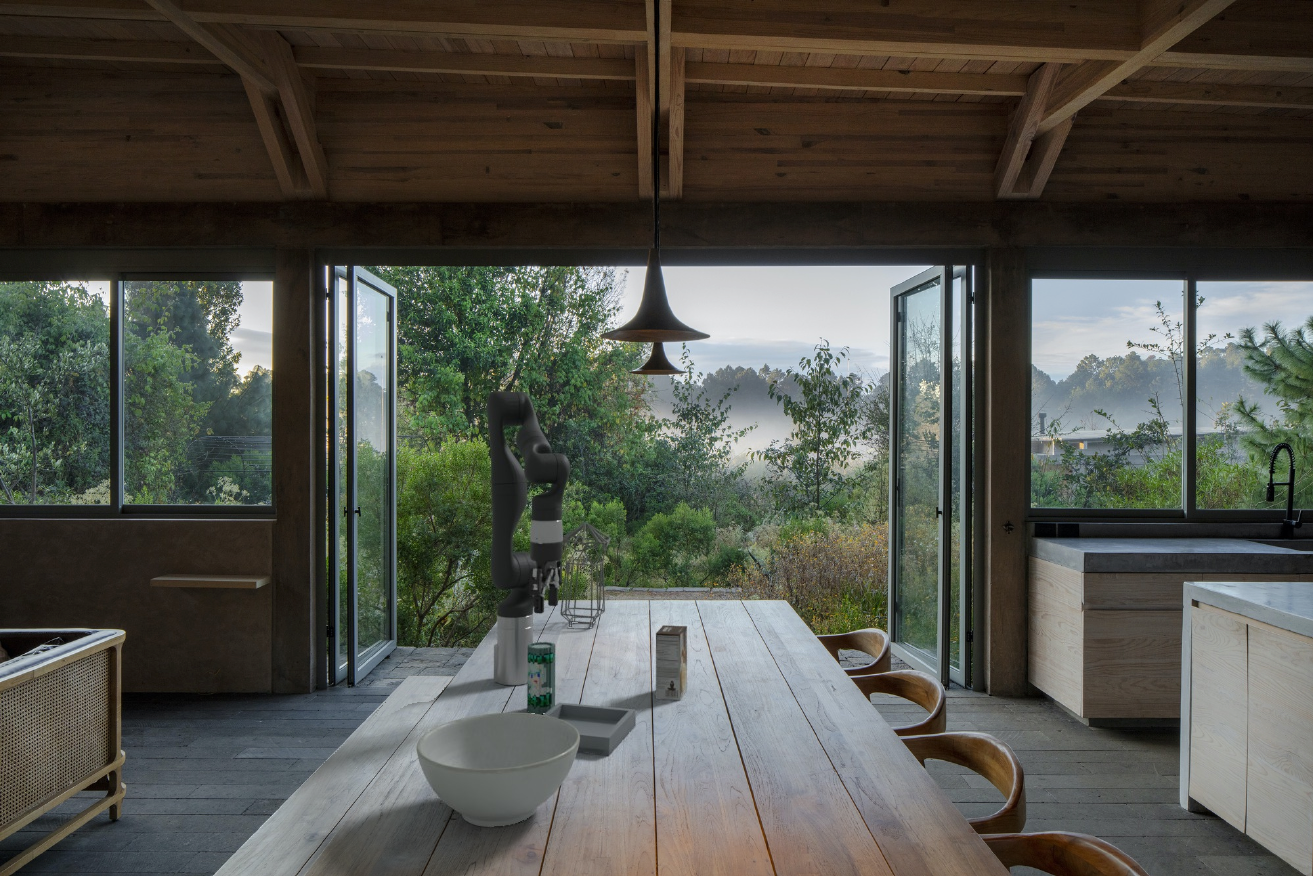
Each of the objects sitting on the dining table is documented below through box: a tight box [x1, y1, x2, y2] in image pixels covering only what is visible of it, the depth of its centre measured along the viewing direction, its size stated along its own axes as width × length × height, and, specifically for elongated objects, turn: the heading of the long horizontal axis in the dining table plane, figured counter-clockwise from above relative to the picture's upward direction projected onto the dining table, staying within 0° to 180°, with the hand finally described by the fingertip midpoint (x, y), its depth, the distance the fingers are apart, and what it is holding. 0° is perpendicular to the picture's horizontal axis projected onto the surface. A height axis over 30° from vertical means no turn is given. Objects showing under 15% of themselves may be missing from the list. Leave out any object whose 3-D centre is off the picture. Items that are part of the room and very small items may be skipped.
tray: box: [543, 702, 637, 756], centre depth 173 cm, size 18×18×4 cm
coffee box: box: [655, 625, 688, 701], centre depth 202 cm, size 9×6×16 cm
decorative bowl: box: [416, 712, 580, 828], centre depth 137 cm, size 27×27×12 cm
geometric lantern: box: [559, 522, 612, 628], centre depth 278 cm, size 16×16×35 cm
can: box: [526, 641, 556, 715], centre depth 189 cm, size 6×6×15 cm
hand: (546, 609), depth 190 cm, fingers open, 8 cm apart
